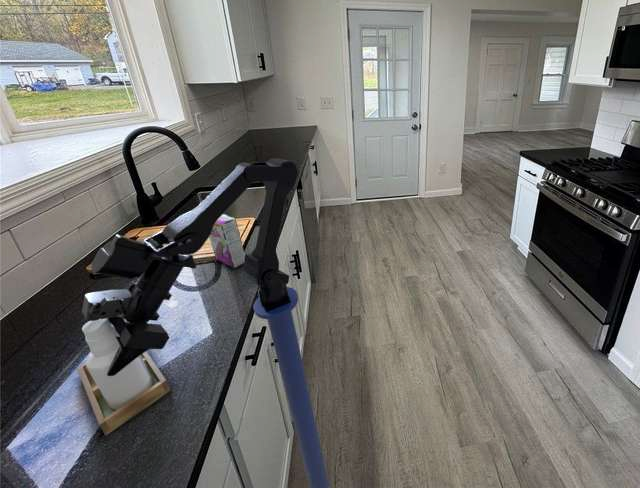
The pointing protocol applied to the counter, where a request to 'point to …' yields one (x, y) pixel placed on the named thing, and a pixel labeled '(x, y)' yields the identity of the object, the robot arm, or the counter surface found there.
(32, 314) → the counter surface
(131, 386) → the spray bottle
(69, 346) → the counter surface
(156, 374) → the holder
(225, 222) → the candy bar box
